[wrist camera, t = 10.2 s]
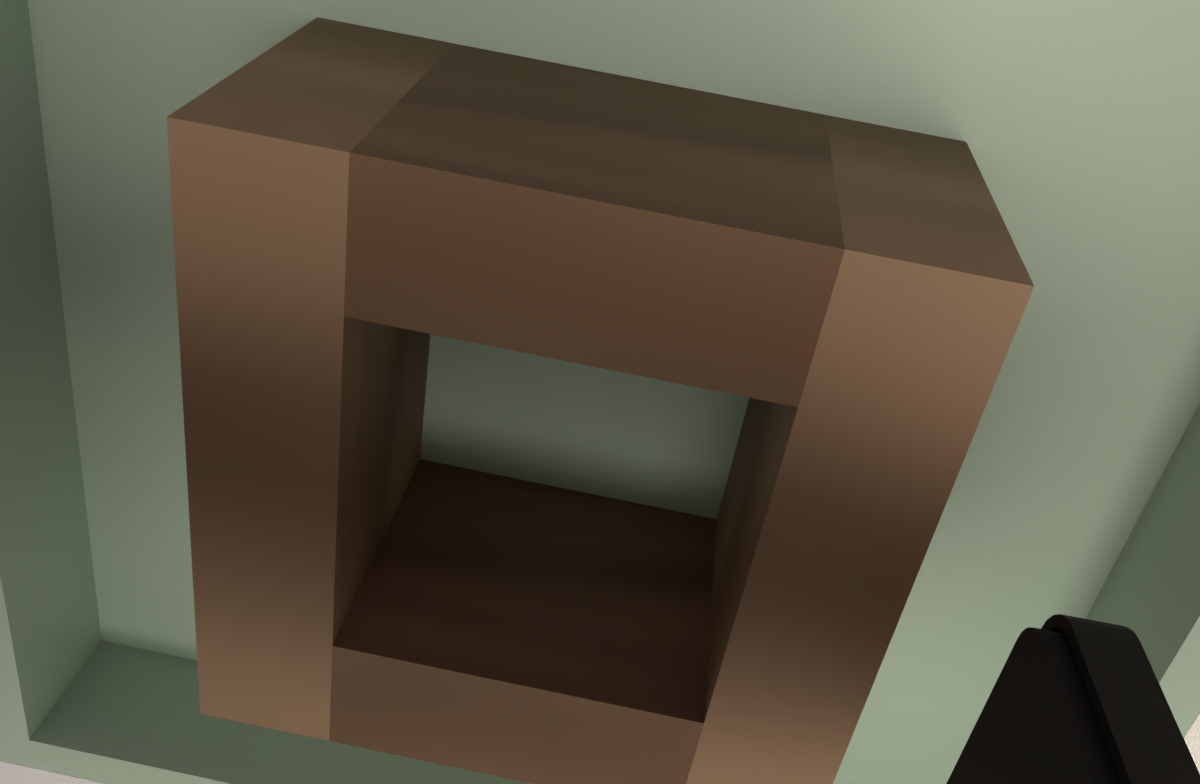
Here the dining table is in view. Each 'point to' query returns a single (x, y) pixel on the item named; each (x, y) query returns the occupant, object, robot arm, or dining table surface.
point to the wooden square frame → (580, 335)
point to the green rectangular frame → (600, 396)
